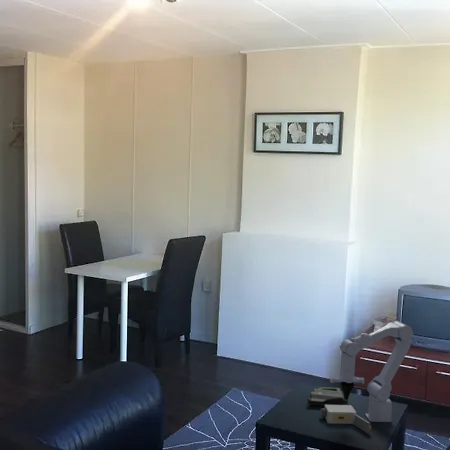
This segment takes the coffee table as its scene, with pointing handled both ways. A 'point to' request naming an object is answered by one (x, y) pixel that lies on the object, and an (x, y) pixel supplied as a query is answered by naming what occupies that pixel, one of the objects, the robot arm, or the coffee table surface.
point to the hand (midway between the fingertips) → (345, 398)
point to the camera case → (338, 413)
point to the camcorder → (327, 397)
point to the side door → (361, 423)
